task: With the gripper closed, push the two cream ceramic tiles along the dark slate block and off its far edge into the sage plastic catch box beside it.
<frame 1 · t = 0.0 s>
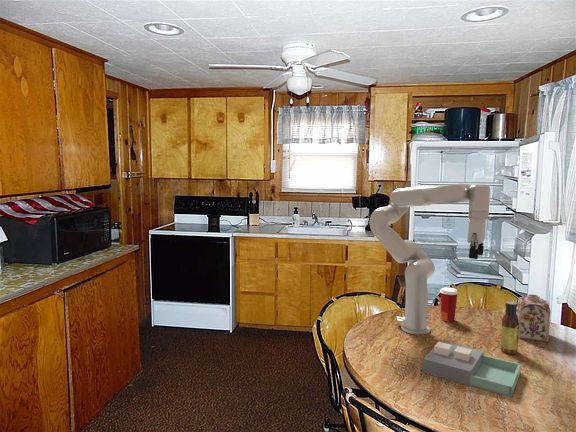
hand: (476, 256, 174), 37 cm above the table, tool pointing down, fingers open, 9 cm apart
catch box: (495, 379, 148), on the table
decorative jar: (530, 335, 187), on the table
coffee cup: (447, 319, 205), on the table
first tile: (442, 352, 158), point 5 cm above the table, touching slate block
slate block: (453, 367, 156), on the table
sauce bottle: (508, 351, 170), on the table
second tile: (462, 356, 154), point 5 cm above the table, touching slate block
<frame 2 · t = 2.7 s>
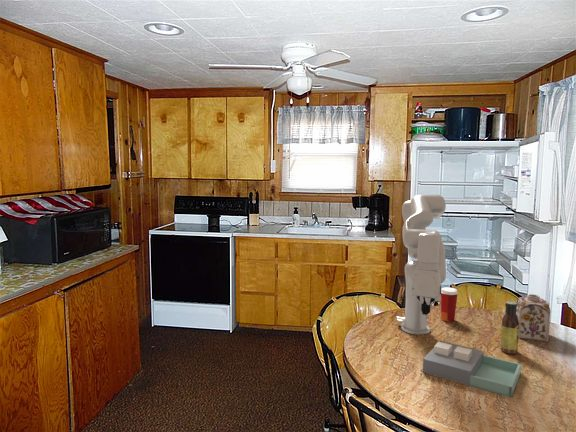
hand: (425, 313, 160), 18 cm above the table, tool pointing down, fingers closed
nothing on the table moved.
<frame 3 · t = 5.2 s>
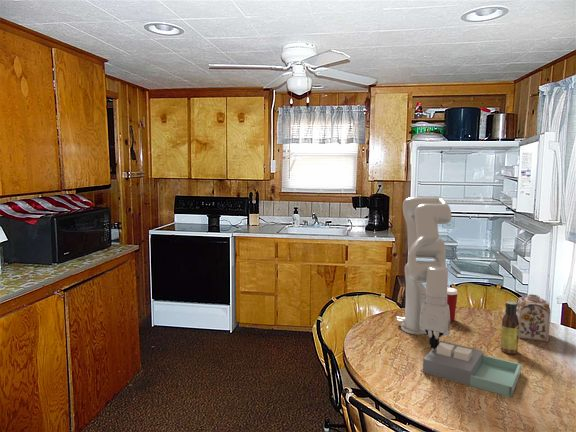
hand: (434, 347, 159), 6 cm above the table, tool pointing down, fingers closed
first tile: (445, 352, 157), point 5 cm above the table, touching gripper
everything else where it was.
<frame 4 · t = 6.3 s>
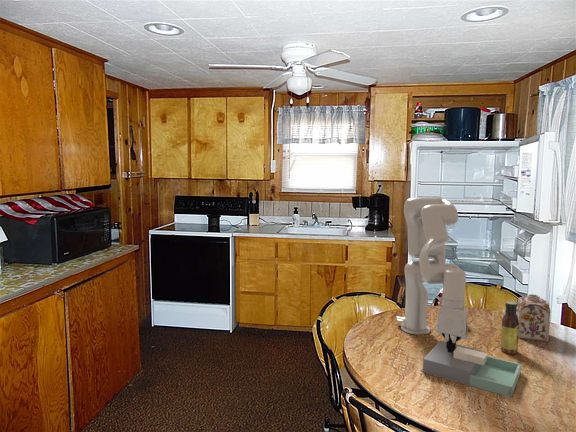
hand: (450, 351, 156), 6 cm above the table, tool pointing down, fingers closed
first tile: (462, 357, 153), point 5 cm above the table, touching gripper, slate block
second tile: (477, 360, 151), point 5 cm above the table, touching slate block
everything else where it was.
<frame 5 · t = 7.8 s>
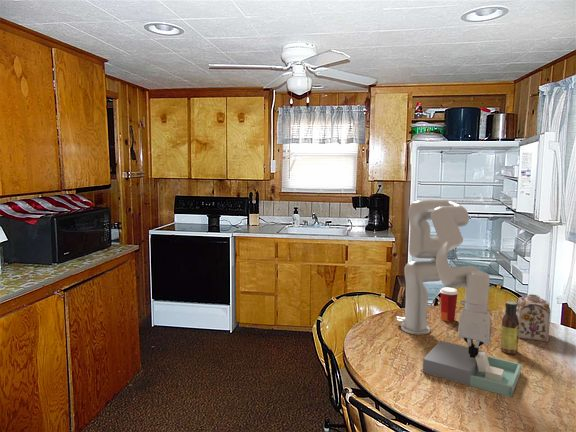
hand: (473, 356, 151), 6 cm above the table, tool pointing down, fingers closed
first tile: (478, 361, 150), point 5 cm above the table, tilted 75°, touching gripper, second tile
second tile: (494, 370, 147), point 3 cm above the table, tilted 179°, touching catch box, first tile
everything else where it was.
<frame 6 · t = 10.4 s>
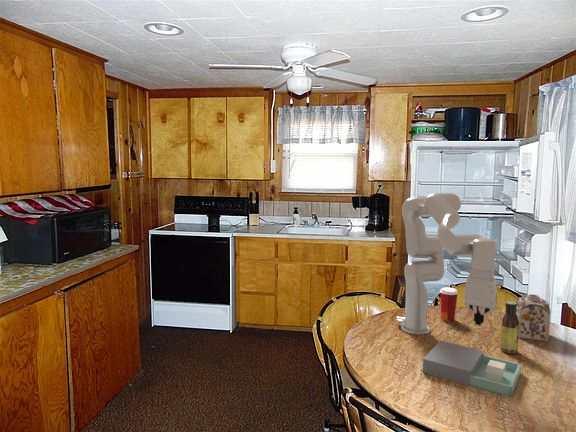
hand: (478, 323, 151), 18 cm above the table, tool pointing down, fingers closed
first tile: (496, 364, 147), point 6 cm above the table, tilted 180°, touching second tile
everything else where it was.
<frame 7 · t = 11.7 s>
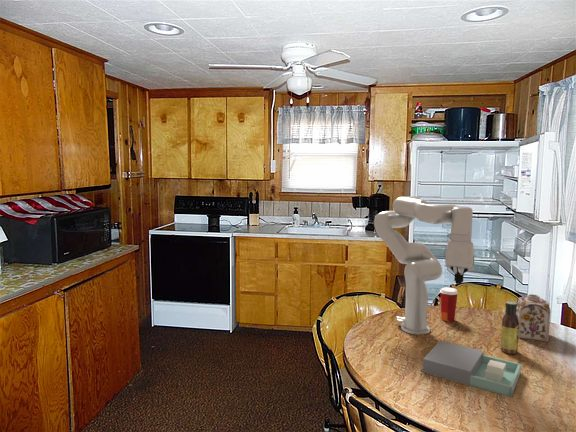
hand: (458, 283, 170), 27 cm above the table, tool pointing down, fingers closed
nothing on the table moved.
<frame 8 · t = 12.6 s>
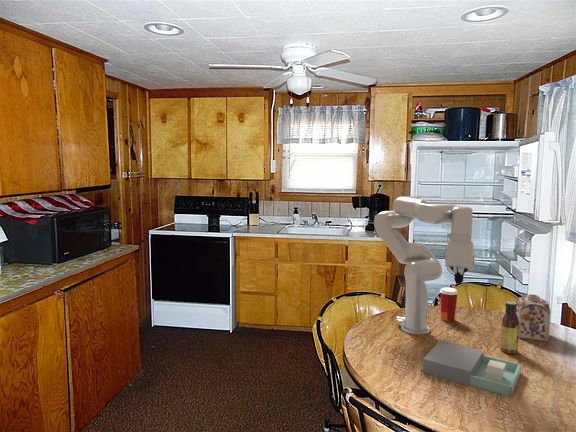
hand: (458, 283, 170), 27 cm above the table, tool pointing down, fingers closed
nothing on the table moved.
at the end: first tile inside the target area (0.5 cm from its centre), point 5.6 cm above the table; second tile inside the target area (0.7 cm from its centre), point 3.1 cm above the table; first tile point 5.6 cm above the table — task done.
